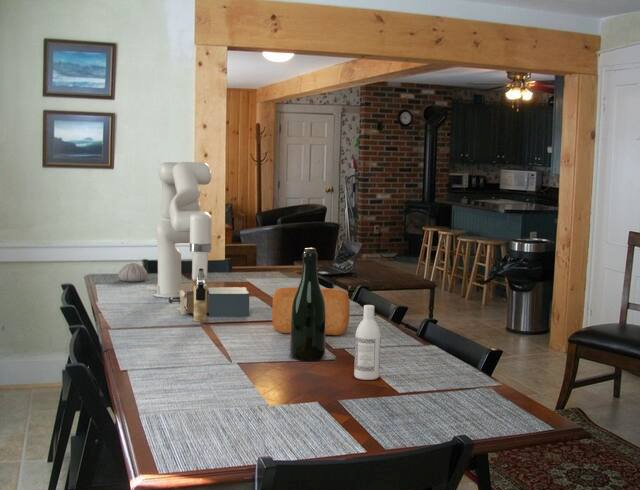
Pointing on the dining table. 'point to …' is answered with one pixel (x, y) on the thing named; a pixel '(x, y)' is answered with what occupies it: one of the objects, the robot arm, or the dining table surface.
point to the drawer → (189, 301)
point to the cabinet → (228, 301)
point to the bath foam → (367, 347)
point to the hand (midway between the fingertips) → (200, 298)
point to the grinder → (200, 307)
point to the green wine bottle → (308, 313)
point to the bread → (334, 310)
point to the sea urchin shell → (133, 273)
